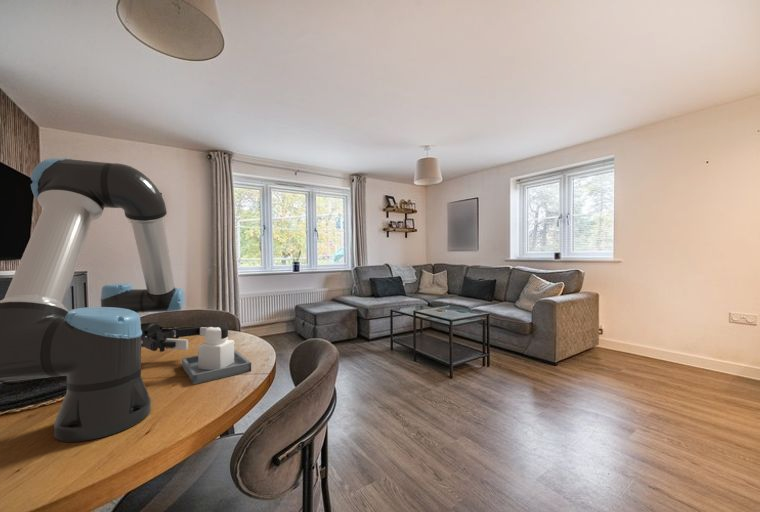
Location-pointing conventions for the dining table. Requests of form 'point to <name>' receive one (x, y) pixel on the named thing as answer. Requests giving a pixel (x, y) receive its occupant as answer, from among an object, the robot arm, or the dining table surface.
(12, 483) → the dining table surface
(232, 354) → the medicine bottle
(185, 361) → the tray
